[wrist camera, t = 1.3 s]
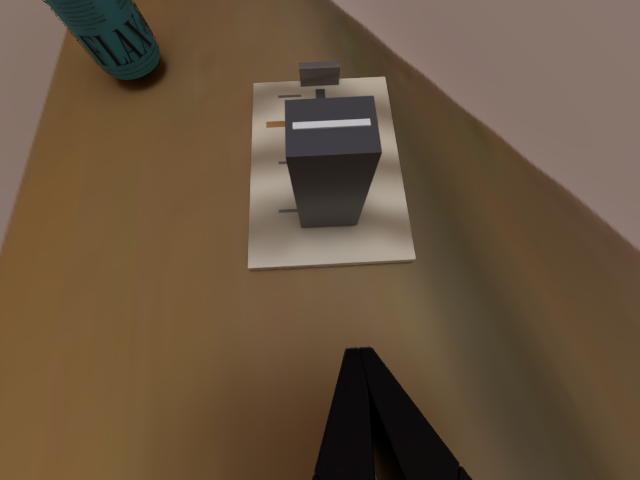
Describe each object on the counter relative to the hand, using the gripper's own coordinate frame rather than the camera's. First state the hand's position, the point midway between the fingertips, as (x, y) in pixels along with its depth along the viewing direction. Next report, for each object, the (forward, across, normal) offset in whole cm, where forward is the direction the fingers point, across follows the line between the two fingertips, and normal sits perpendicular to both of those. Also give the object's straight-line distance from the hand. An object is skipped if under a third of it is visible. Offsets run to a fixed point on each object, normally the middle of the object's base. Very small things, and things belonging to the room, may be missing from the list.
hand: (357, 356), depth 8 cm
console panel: (+21, 0, -2) cm, 21 cm away
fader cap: (+16, 0, +1) cm, 16 cm away
